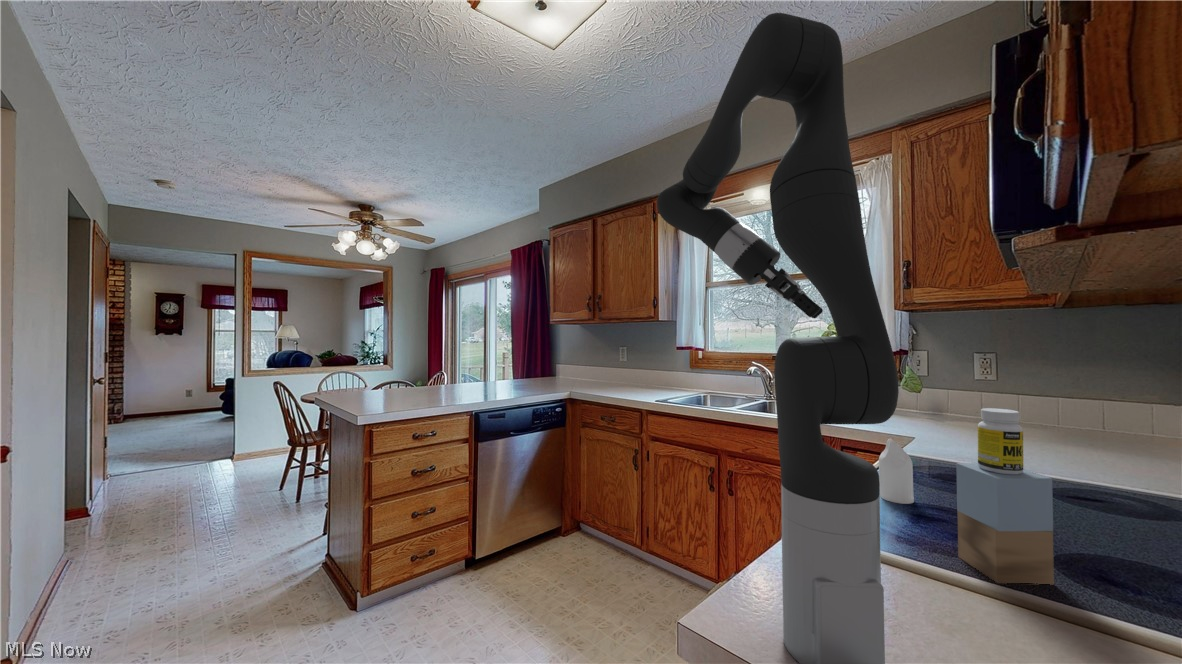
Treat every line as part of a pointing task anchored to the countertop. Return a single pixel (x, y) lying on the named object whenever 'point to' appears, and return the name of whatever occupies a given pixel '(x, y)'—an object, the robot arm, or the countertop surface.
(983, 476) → the slate block
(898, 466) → the white bottle
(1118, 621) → the countertop surface
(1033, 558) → the walnut block
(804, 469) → the robot arm
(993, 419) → the supplement bottle
